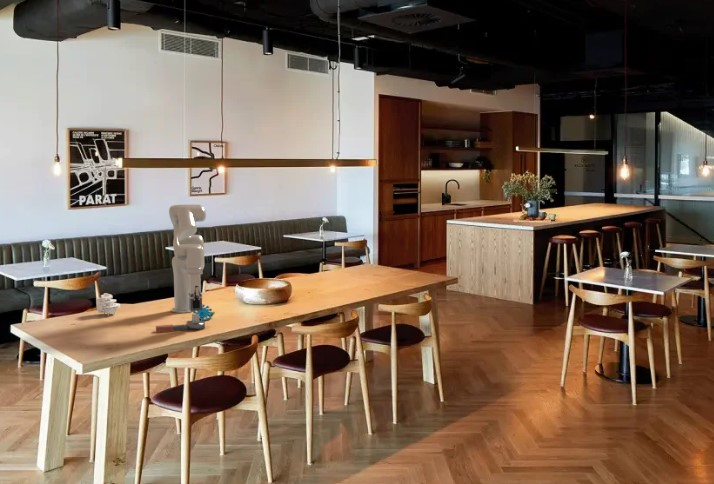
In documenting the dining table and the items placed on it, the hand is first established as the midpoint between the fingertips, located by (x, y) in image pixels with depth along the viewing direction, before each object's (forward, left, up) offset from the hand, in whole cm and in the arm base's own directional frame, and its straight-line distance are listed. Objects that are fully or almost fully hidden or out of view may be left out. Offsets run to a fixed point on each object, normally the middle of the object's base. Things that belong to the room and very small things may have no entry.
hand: (195, 306), depth 321 cm
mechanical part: (-47, -39, -11) cm, 62 cm away
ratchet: (0, -7, -11) cm, 13 cm away
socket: (0, 0, -2) cm, 2 cm away
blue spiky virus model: (-18, +7, -12) cm, 23 cm away
